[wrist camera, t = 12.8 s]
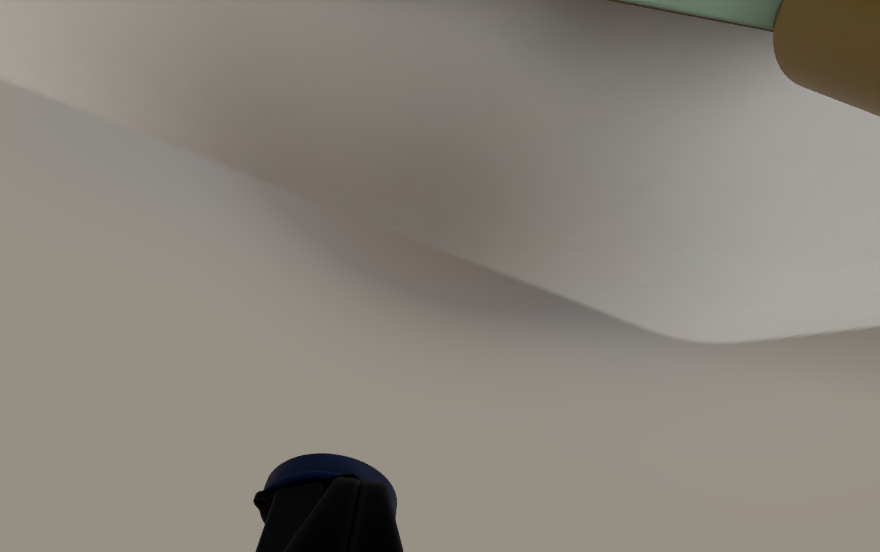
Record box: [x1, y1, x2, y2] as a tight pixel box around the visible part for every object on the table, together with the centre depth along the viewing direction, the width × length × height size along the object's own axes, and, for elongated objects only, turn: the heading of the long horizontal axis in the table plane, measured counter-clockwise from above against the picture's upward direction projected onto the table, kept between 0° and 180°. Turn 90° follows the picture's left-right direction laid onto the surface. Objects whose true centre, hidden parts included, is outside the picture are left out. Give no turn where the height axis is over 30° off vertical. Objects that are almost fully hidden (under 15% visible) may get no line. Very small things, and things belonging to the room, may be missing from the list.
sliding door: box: [618, 0, 880, 116], centre depth 11 cm, size 2×8×11 cm, turn 81°
